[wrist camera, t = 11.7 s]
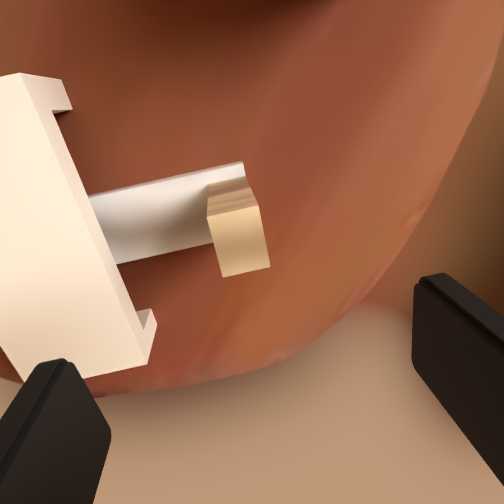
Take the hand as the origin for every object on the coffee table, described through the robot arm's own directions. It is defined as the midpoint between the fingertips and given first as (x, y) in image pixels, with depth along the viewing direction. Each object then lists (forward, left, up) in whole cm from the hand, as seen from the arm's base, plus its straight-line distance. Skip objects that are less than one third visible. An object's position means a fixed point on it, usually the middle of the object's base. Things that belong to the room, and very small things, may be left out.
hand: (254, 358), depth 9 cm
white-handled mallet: (+1, -7, -21) cm, 22 cm away
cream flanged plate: (+1, -15, -21) cm, 26 cm away
